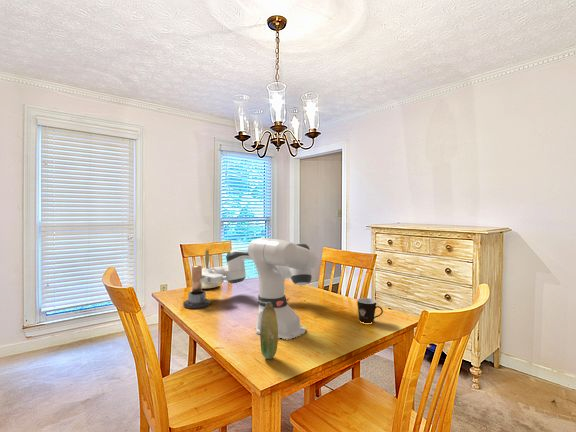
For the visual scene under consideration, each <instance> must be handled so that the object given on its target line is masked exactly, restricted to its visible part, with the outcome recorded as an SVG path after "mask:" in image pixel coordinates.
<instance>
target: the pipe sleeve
mask: <svg viewBox="0 0 576 432" xmlns="http://www.w3.org/2000/svg"><path fill="white" fill-rule="evenodd" d="M206 294H207V293H206V291H205V290H202V294H197V295H194V294H192V291H190V292H188V293H187V295H188V297H187V298H188V299H186V300H185V301H183V302H182V307H183V308H185V309H189V310H199V309H205V308H208V307H210V306H211V300H210V299H208V298H207V297H206Z"/></svg>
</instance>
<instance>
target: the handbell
mask: <svg viewBox="0 0 576 432" xmlns="http://www.w3.org/2000/svg"><path fill="white" fill-rule="evenodd" d="M204 252H205V253H204V263H205V267H203V268H202V270H203V269H204V268H211V267H210V266H209V264H210V263H209V262H210V253H209V248H207V249H206V250H205V251H204ZM219 285H220V283H217V284H213V283H209V282H202V289H213V288H217V287H219Z"/></svg>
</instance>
